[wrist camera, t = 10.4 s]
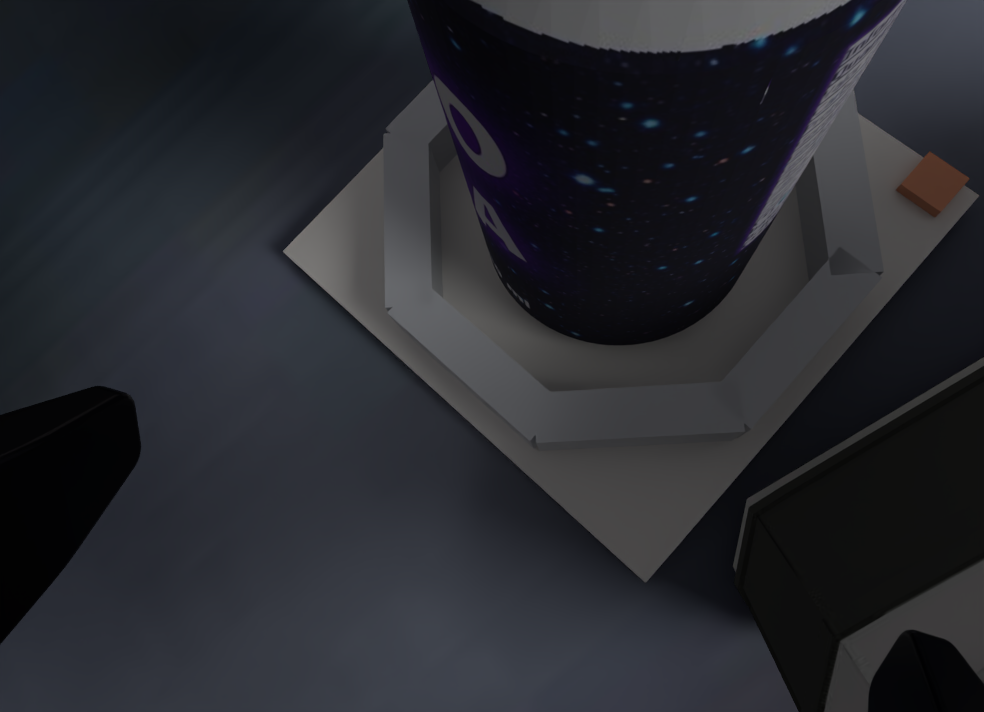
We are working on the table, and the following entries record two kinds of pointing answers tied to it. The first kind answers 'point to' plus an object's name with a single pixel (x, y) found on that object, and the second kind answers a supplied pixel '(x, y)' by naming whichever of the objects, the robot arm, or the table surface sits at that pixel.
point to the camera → (872, 547)
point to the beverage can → (637, 141)
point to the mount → (628, 368)
